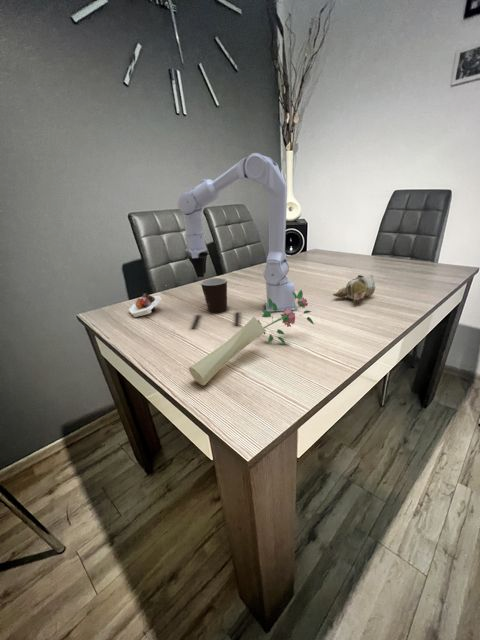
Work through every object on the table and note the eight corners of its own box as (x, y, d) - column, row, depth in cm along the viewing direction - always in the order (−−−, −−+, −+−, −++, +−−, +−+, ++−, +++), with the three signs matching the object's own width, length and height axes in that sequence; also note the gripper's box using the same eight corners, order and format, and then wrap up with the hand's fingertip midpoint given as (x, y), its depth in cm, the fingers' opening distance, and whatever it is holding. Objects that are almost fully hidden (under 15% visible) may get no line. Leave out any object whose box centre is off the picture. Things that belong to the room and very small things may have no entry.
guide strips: (238, 313, 92) (238, 312, 92) (238, 325, 83) (238, 324, 83) (197, 316, 91) (196, 315, 91) (192, 328, 83) (192, 327, 83)
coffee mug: (225, 315, 91) (221, 285, 86) (201, 314, 93) (196, 285, 88) (235, 303, 101) (232, 276, 96) (213, 302, 103) (209, 276, 98)
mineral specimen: (171, 305, 96) (160, 287, 92) (145, 325, 91) (132, 307, 87) (156, 301, 104) (145, 284, 100) (131, 319, 99) (118, 303, 95)
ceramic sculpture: (385, 272, 94) (357, 284, 87) (382, 296, 98) (355, 309, 91) (360, 268, 101) (331, 278, 95) (358, 290, 106) (331, 301, 99)
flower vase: (203, 401, 64) (290, 323, 82) (232, 413, 55) (323, 321, 73) (176, 361, 59) (274, 287, 77) (203, 367, 50) (308, 281, 68)
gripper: (187, 232, 97) (193, 271, 104) (178, 237, 85) (186, 281, 91) (206, 231, 97) (212, 269, 104) (201, 236, 85) (207, 280, 91)
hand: (201, 275), depth 98 cm, fingers open, 4 cm apart
